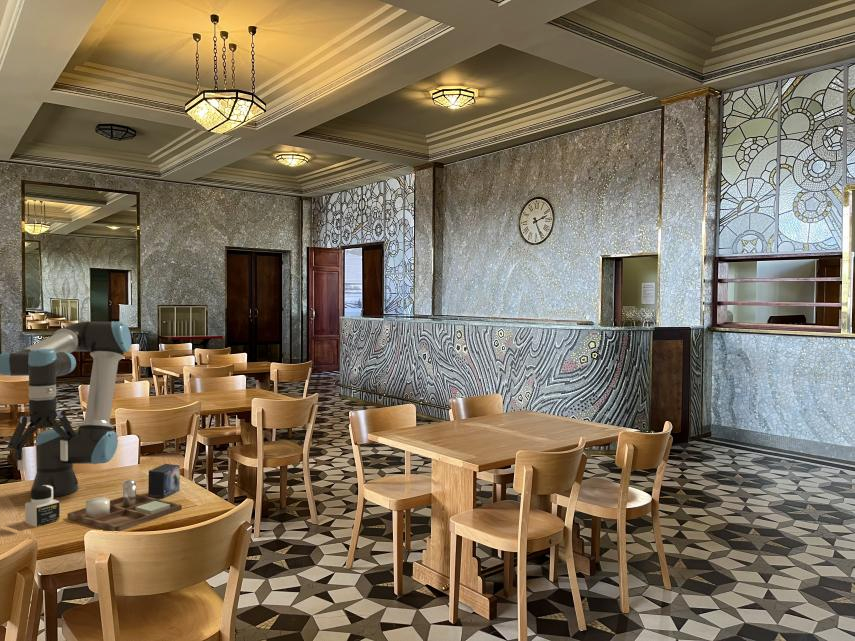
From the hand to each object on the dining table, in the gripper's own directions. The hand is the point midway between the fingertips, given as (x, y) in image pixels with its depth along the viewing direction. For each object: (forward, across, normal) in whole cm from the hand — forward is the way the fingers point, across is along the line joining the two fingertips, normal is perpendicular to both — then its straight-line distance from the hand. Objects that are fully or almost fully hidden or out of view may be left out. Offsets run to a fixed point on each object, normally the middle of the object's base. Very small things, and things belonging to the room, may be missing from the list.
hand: (43, 465), depth 208 cm
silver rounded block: (+18, +12, -10) cm, 24 cm away
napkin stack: (+18, +23, -22) cm, 37 cm away
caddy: (+19, +18, -16) cm, 30 cm away
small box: (+19, +39, -9) cm, 44 cm away
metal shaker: (+18, +24, -10) cm, 31 cm away
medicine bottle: (+19, 0, 0) cm, 19 cm away
